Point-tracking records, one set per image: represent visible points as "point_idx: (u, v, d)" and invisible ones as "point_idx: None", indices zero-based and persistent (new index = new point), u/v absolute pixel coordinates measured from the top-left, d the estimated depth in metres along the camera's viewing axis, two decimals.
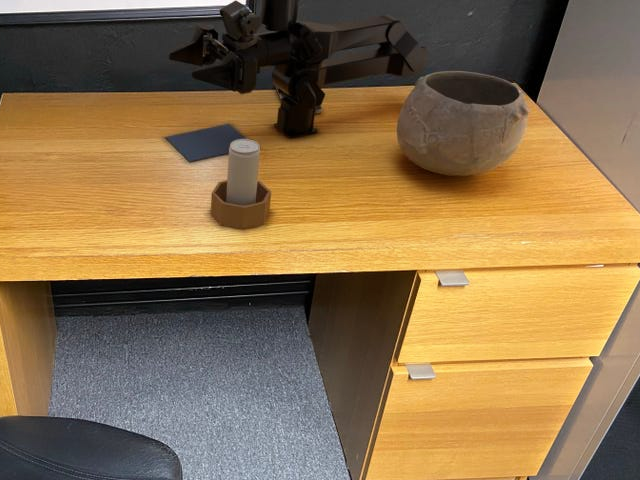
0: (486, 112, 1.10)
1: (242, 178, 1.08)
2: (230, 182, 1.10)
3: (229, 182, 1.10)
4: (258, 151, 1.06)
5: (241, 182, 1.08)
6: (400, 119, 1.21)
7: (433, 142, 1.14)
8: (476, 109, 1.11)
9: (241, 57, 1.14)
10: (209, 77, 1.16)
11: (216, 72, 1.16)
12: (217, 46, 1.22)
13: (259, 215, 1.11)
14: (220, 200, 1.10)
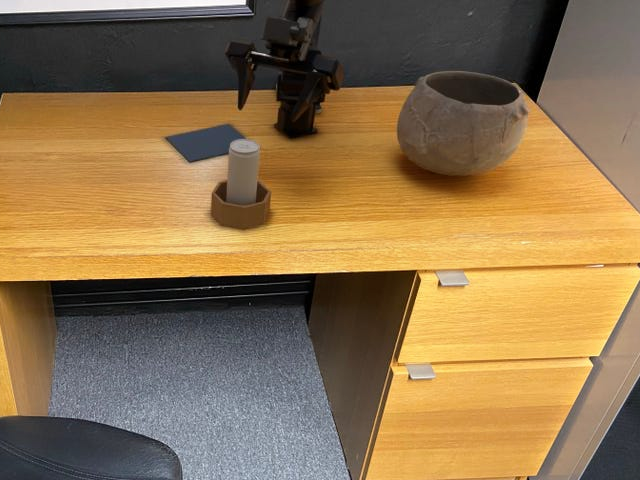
0: (486, 112, 1.11)
1: (242, 178, 1.08)
2: (230, 182, 1.10)
3: (229, 182, 1.10)
4: (258, 151, 1.06)
5: (241, 182, 1.08)
6: (400, 119, 1.21)
7: (433, 142, 1.14)
8: (476, 109, 1.11)
9: (327, 72, 1.05)
10: (305, 106, 1.09)
11: (307, 97, 1.08)
12: (266, 57, 1.10)
13: (259, 215, 1.11)
14: (220, 200, 1.10)
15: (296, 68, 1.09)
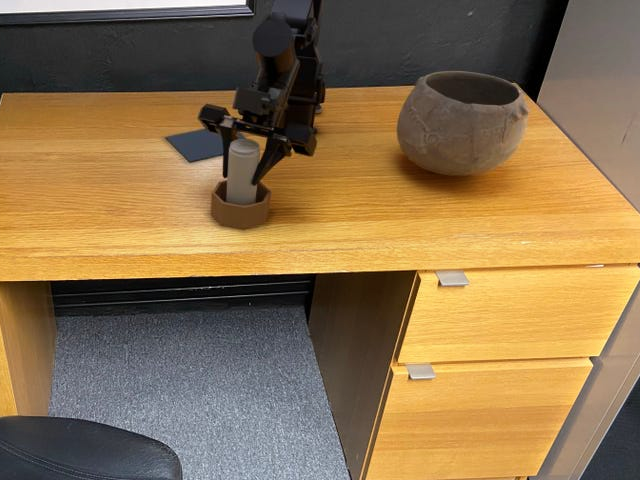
0: (486, 112, 1.11)
1: (242, 178, 1.08)
2: (230, 182, 1.10)
3: (229, 182, 1.10)
4: (258, 151, 1.06)
5: (241, 182, 1.08)
6: (400, 119, 1.21)
7: (433, 142, 1.14)
8: (476, 109, 1.11)
9: (299, 141, 1.04)
10: (266, 170, 1.09)
11: (268, 161, 1.08)
12: (251, 126, 1.08)
13: (259, 215, 1.11)
14: (220, 200, 1.10)
15: (257, 132, 1.09)
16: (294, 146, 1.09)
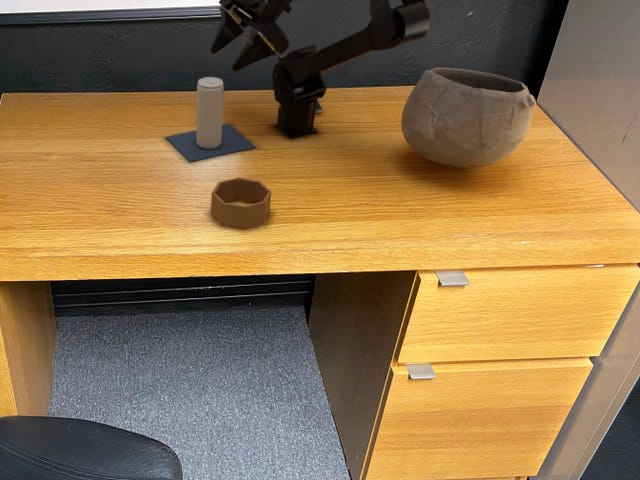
0: (495, 97, 1.11)
1: (200, 109, 1.26)
2: None
3: None
4: (216, 89, 1.23)
5: (200, 112, 1.26)
6: (406, 108, 1.21)
7: (441, 125, 1.14)
8: (485, 93, 1.11)
9: (260, 32, 1.18)
10: (247, 61, 1.24)
11: (250, 53, 1.23)
12: (243, 13, 1.27)
13: (259, 215, 1.11)
14: (220, 200, 1.10)
15: None
16: None
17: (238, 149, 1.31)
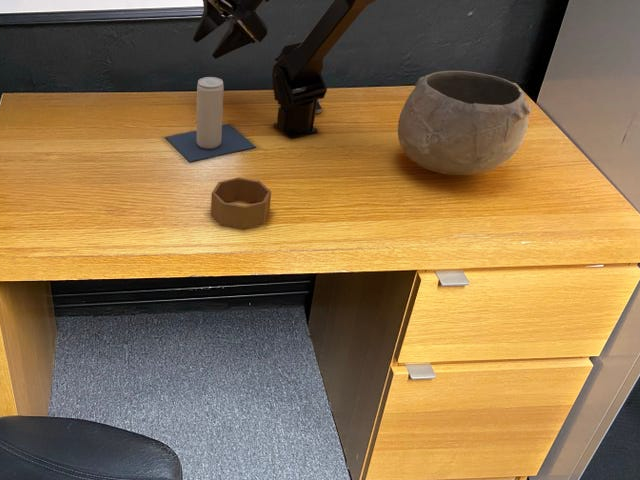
0: (488, 112, 1.11)
1: (200, 109, 1.26)
2: None
3: None
4: (216, 89, 1.23)
5: (200, 112, 1.26)
6: (401, 119, 1.21)
7: (436, 142, 1.14)
8: (478, 109, 1.11)
9: (239, 20, 1.23)
10: (228, 48, 1.28)
11: (230, 40, 1.27)
12: (224, 3, 1.31)
13: (259, 215, 1.11)
14: (220, 200, 1.10)
15: None
16: None
17: (238, 149, 1.31)
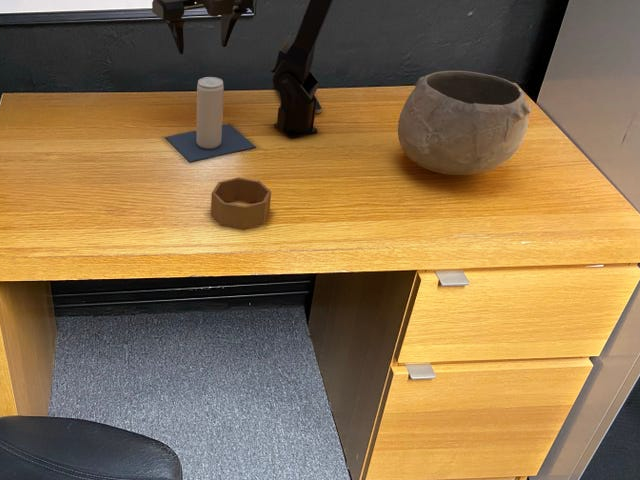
0: (488, 112, 1.11)
1: (200, 109, 1.26)
2: None
3: None
4: (216, 89, 1.23)
5: (200, 112, 1.26)
6: (401, 119, 1.21)
7: (436, 142, 1.14)
8: (478, 109, 1.11)
9: (249, 7, 1.29)
10: None
11: None
12: None
13: (259, 215, 1.11)
14: (220, 200, 1.10)
15: None
16: None
17: (238, 149, 1.31)
